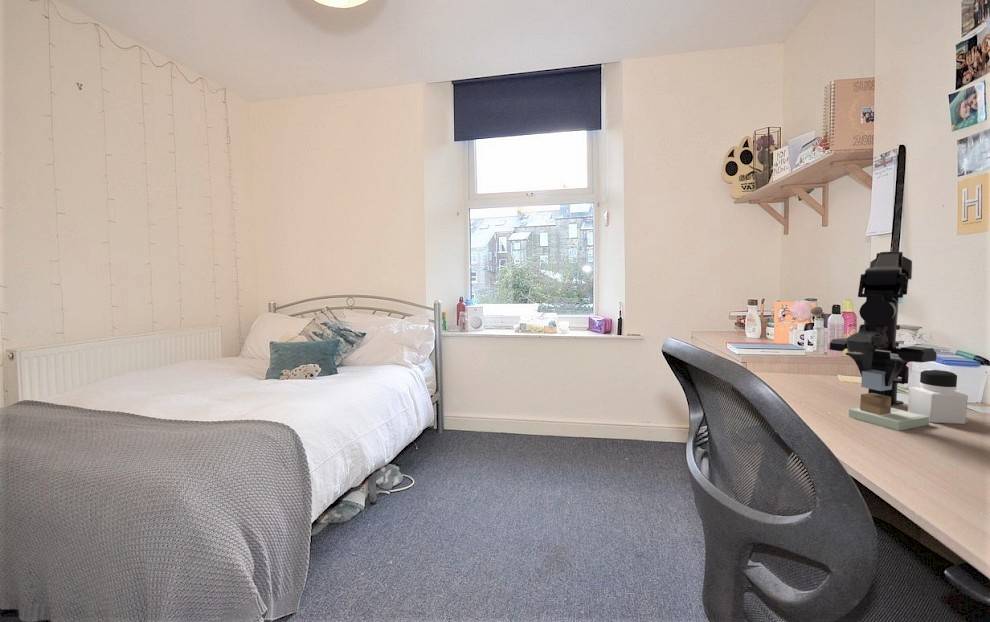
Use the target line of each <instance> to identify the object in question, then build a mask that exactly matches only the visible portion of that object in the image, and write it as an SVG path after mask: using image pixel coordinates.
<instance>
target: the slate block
mask: <svg viewBox="0 0 990 622" xmlns="http://www.w3.org/2000/svg"><path fill="white" fill-rule="evenodd" d="M885 374H886V372H883V371H877V370H867V371H862V376H861V382H860V383H861V385H860V387H861V388H864V389H873V390H878V391H884V390H891V389H892V384H891V385H890V386H885Z"/></svg>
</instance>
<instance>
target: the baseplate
mask: <svg viewBox="0 0 990 622" xmlns="http://www.w3.org/2000/svg"><path fill="white" fill-rule="evenodd" d="M848 417H849V418H852V419H854V420H857V421H858V420H859V421H863V422H865V423H869V424H872V425H876V426H880V427H884V428H888V429H891V430H895V431H898V432H899V431H904V430H909V429H914V428H920V427H924V426H929V423H930V422H929V416H925V415H920V414H916V413H912V412H908V410H907V411H906V410H903V409H899V408H894V407H891V411H890V413H888V414H883V415H877V414H873V413H870V412H866V411H862V410H860V407H853V408H849V409H848Z"/></svg>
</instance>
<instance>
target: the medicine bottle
mask: <svg viewBox="0 0 990 622" xmlns="http://www.w3.org/2000/svg"><path fill="white" fill-rule="evenodd" d="M919 375H920V378H919V385H920V386H909V387H908V400H907V401H908V403H907V411H908V412H912V413H916V414H920V415H925V416H929V423H932V424H933V423H934V424H937V423H938V424H951V425H952V424H957V425H965V424H967V413H968V411H967V410H968V398H969V396H968V394H965V393H962V392H958V391H956V390H957V384H958V383H957V382H958V375H957V374H956V373H954V372H952V371H948V370H943V369H924V370H923V369H922V370H921V371H920V374H919Z"/></svg>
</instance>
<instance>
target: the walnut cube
mask: <svg viewBox="0 0 990 622" xmlns="http://www.w3.org/2000/svg"><path fill="white" fill-rule="evenodd" d="M859 406H860V410H862V411H866V412H870V413H873V414H877V415H883V414H888V413H890V411H891V408H892V406H891V397H889V396H884V395H880V394H875V393H862V394H860V405H859Z"/></svg>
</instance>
